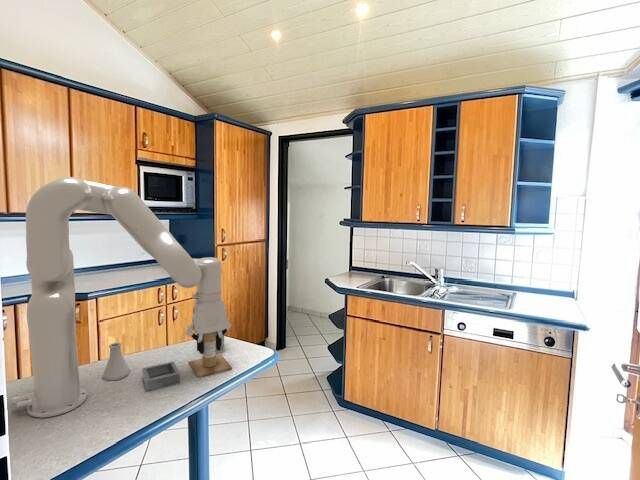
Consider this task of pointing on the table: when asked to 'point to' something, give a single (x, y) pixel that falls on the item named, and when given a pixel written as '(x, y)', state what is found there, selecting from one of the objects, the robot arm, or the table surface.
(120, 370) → the flask
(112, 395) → the table surface
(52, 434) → the table surface
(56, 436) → the table surface
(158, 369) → the steel collar holder
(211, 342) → the sprinkles bottle
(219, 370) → the walnut board
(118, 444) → the table surface
